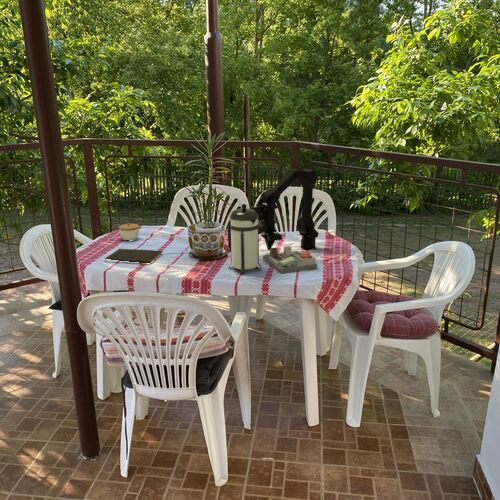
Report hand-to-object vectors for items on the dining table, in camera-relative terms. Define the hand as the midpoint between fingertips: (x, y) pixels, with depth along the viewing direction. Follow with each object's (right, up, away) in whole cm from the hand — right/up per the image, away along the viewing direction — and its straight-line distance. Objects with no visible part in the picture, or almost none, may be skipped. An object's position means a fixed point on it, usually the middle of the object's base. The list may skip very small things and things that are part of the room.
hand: (269, 250), depth 249 cm
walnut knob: (+2, -3, -5) cm, 6 cm away
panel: (+9, -6, -9) cm, 14 cm away
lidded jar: (-74, +5, +33) cm, 82 cm away
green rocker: (+8, -5, -18) cm, 20 cm away
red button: (+16, -4, -15) cm, 22 cm away
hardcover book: (-65, -5, +3) cm, 65 cm away
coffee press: (-12, -8, -14) cm, 20 cm away
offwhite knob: (+9, -2, -3) cm, 9 cm away
